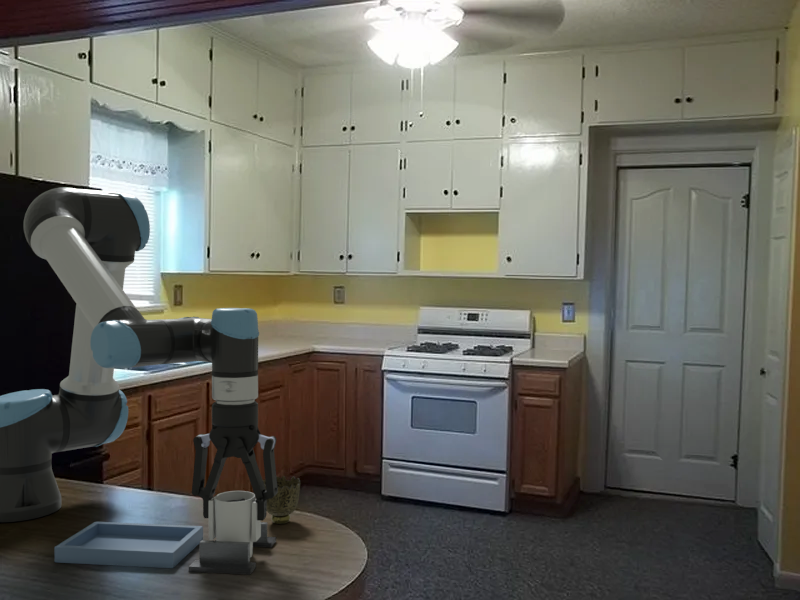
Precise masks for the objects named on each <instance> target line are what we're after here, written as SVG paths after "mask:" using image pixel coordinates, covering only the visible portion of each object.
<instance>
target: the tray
mask: <svg viewBox="0 0 800 600" xmlns="http://www.w3.org/2000/svg"><path fill="white" fill-rule="evenodd" d="M201 540H204V526H202V525H185V524H184V525H181V524H180V525H179V524H164V523H163V524H159V523H158V524H157V523H138V522H137V523H136V522H117V521H116V522H115V521H114V522H113V521H111V522H110V521H94V522H92V523H91V524H89V525H87V526H86V527H85V528H82V529H80V530H79V531H78V532H76V533H75V534H73V535H71V536H70V537H68V538H67V539H64V541H62V542H60V543H58V544H57V545H56V546H54V563H62V564H64V563H65V564H82V565H98V566H99V565H100V566H101V565H103V566H121V567H122V566H123V567H124V566H125V567H140V568H141V567H142V568H159V569H161V568H162V569H174V568H175V567H176V566H177V565H178V564H179V563H180V562H182V560H183V559H185V558H186V557H187V556H188V555H189V554H190V553H191V552H192V551H194V550H195V548H196V547H198V545H199V542H200V541H201Z"/></svg>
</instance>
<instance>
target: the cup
mask: <svg viewBox="0 0 800 600" xmlns="http://www.w3.org/2000/svg"><path fill="white" fill-rule="evenodd" d="M276 477H277V487H278V492H277V494H276V495H275V496H274V497H273V498H271V499H267V511H266V512H267V513H268V514H269V515H271V517H270V520H271V522H272V523H273V524H276V525H284V524H287V523H289V522H290V520H291V514H293V513H294V512H295V511H296V509H297V507H298V504H299V498H300V493H301V492H300V489H301V484H302V483H301V480H300V478H299V477H297V478H296V477H295V476H292V477H291V478H290V480H289V479H286V476H285V475H283V476H281V477H279V476H278V475H276ZM262 480H263V483H264V486H265V488H266V481H265V479H262Z"/></svg>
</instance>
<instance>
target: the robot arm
mask: <svg viewBox="0 0 800 600" xmlns="http://www.w3.org/2000/svg"><path fill="white" fill-rule="evenodd" d="M23 233H24V237H25V239H26V242H27V243H28V245H29V247H30V248H31V250H32V252H33V253H34V254H35V255H36V256H37V257H39V258H41V259H44V260H46V261H47V262H48V264H49V266H50V267H51V269H52V270H53V272H54V273H55V275H57V277H58V279H59V280H60V282H61V283H62V285H63V286H64V287H65V289H66V290H67V293H68V294H69V295H70V296H71V297H72V300H73V301H74V302H75V303H76V305H75V313H74V323H73V324H74V325H73V334H72V342H71V352H70V363H69V372H68V376H66V377H65V378H63V380H61V381H60V383H59V391H58V394H54V395H53V394H52V391H51V390H49V389H45V388H35V389H29V390H27V389H26V390H19V391H14V392H9V393H6V394H2V395H0V523H13V522H22V521H28V520H29V521H30V520H34V519H38V518H42V517H46V516H49V515H51V514H53V513H56V512H58V510H60V509H61V508H62V494H61V492H60V489H59V486H58V483H57V480H56V478H55V475H54V472H53V469H52V468H53V467H52V458H53V455H52V454H54V453H61V452H66V451H72V450H73V451H74V450H77V449H83V448H84V449H85V448H91V447H94V448H97V447H99V446H102V445H104V444H105V445H106V444H109V443H113V442H115V441H116V440H117V439H118V438H120V436H121V435H122V434H123V433H124V431H125V429H126V426H127V422H128V418H129V406H128V405H127V404H128V399H127V396H126V395H125V393H124V392H123V391H122V390H120V384H119V383H118V382H117V381H116V380H115V378H114V372H115V371H114V370H115V369H122V370H123V369H131V368H138V367H149V366H157V365H168V364H170V365H171V364H180V363H181V364H182V363H191V362H203V363H204V362H205V363H211V398H212V400H214V402H213V403H212V404H211V429H210V432H209V433H206V434H203V433H201V434H198V435H196V436H195V437H194V438H193V440H192V441H193V446H194V449H195V450H194V451H195V454H194V465H193V474H192V475H193V477H192V485H191V486H192V487H191V494H192V496H194V497H196V496H197V497H198V498H199V497H200V498H201V499H202V503H203V504H202V516H203V518H204V519H208V521H207V522H208V528H207V529H208V531H207V532H208V533H207V534H208V540H209V541H214V540H215V539H216V521H215V499H214V498H215V496H216V495H215V494H216V489H217V486H218V483H219V481H220V479H221V474H222V472H223V469H224V467H225V464H226V460H227V459H228V458H231V457H234V458H237V459H240V460H241V462H242V464H243V465H244V468H245V470H246V473H247V476H248V479H249V482H250V485H251V487H252V491H253V493H254V494H255V500H254V501H253V502H252V542H256V541H257V540H258V539H259V538H260V537H261V522H264V520H265V519H266V517H267V513H268V512H267V499H271V498H273V497H274V496H275V495H276V494H277V492H278V487H277V477H278V476H277V469H276V457H275V447H276V443H277V437H276V436H274V435H271V436H267V435H264V434H262V433H261V432H260V429H259V403H258V402H257V401H256V399H258V398H259V372H258V371H259V335H260V332H259V323H258V322H259V320H258V319H259V318H258V313H257V311H256V310H255V309H253V308H248V307H247V308H246V307H243V308H240V307H220V308H215V309H214V310H213V311H212V312H211V313H212V314H211V318H203V317H199V316H184V317H179V318H168V319H166V318H164V319H163V318H162V319H158V318H157V319H146V318H145V317H144V316H143V314H141V311H139V310H138V309H137V307H136V306H135V305H134V303H133V302H132V300H131V299H130V297H129V296H128V295H127V293H125V290H124V283H125V274H126V269H127V268H128V267H129V266H131V264H133V263H134V262H135V256H136V252H139V251H142V250H143V249H145V247H146V244H148V242H149V239H150V235H151V234H150V233H151V227H150V218H149V215H148V212H147V210H146V209H145V205H144V204H143V202H142V201H141V200H140V199H139V198H138V197H137V196H135V195H133V194H132V195H131V194H129V193H128V194H127V193H122V192H118V191H110V190H109V191H108V190H107V191H106V190H97V189H85V188H84V189H83V188H75V187H74V188H73V187H67V186H65V187H63V186H62V187H55V188H51V189H49V190H46V191H44V192H42V193H41V194H39V195H38V196H36V197H35V198H34V199H33V200H32V202H31V203H30V204H29V206H28V208H27V210H26V212H25V214H24V219H23ZM210 442H211V443H212V445H214V447H215V449H216V453H215V454H214V455H215V456H214V458H213V464H212V467H211V469H210V473H209V475H208V478H207V481H205V480H206V473H207V461H208V454H209V453H208V452H209V451H208V448H209V446H210V444H211V443H210ZM258 443H259V444H260V448H261V450H263V451H262V458H263V470H264V478H265V481H266V488H265V486H264V483H263V480H264V479H263V476H262V474H261V471H260V468H259V466H258V463H257V459H256V454H255V450H254V448H255V446H256V445H257V444H258ZM276 476H277V477H276ZM205 482H206V483H205Z"/></svg>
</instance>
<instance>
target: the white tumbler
mask: <svg viewBox="0 0 800 600" xmlns="http://www.w3.org/2000/svg"><path fill="white" fill-rule="evenodd" d="M214 496H215V498H214V499H215V521H216V537H215V540H216V541H231V542H250V558H252V557H253V549H254V547H253V542H252V502H253V501H254V500H255V499H256V497H255V494H254V492H251V491H248V490H246V491H245V490H230V491H224V492H220V493H218V494H216V495H214Z"/></svg>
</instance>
